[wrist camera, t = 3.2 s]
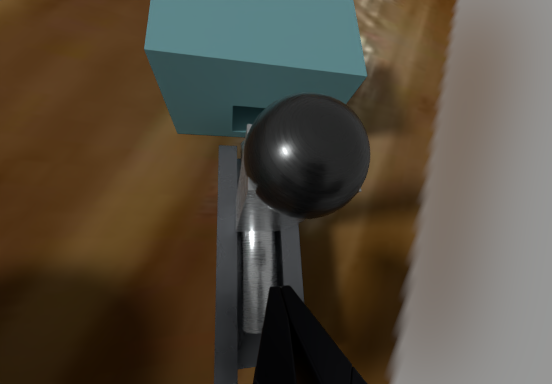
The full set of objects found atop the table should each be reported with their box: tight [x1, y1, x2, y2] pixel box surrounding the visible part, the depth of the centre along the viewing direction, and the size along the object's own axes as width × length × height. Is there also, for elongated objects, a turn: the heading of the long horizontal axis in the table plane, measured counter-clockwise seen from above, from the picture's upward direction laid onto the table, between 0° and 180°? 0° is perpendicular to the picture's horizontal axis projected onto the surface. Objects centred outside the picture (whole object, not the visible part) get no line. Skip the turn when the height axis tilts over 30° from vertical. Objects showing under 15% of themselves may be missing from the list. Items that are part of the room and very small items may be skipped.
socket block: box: [144, 0, 367, 137], centre depth 17 cm, size 8×12×8 cm, turn 93°
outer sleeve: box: [214, 145, 304, 384], centre depth 16 cm, size 14×5×3 cm, turn 3°
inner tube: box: [236, 92, 370, 334], centre depth 11 cm, size 12×3×13 cm, turn 3°
